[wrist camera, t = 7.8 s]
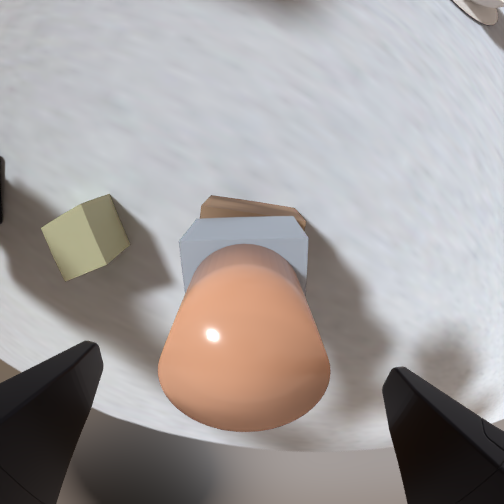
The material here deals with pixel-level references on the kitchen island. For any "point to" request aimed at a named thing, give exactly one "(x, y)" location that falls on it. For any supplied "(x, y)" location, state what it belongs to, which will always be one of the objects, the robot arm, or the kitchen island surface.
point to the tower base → (245, 209)
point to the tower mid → (245, 241)
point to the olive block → (86, 237)
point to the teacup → (481, 9)
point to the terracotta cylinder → (244, 344)
